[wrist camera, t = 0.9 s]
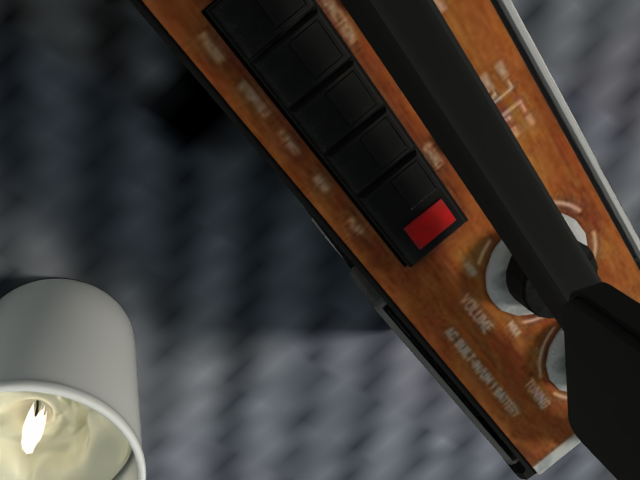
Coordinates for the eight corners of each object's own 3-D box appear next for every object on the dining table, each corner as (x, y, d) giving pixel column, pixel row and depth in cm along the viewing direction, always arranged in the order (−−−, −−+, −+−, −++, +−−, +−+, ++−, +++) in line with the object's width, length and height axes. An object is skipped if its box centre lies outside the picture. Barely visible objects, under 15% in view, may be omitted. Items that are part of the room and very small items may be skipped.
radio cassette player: (93, -35, 29) (-3, -100, 11) (258, -178, 29) (434, -484, 11) (413, 341, 42) (613, 597, 24) (532, 244, 41) (826, 429, 23)
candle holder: (-63, 384, 34) (-163, 558, 24) (6, 236, 33) (-67, 351, 22) (105, 432, 38) (86, 602, 27) (176, 302, 36) (186, 429, 25)
